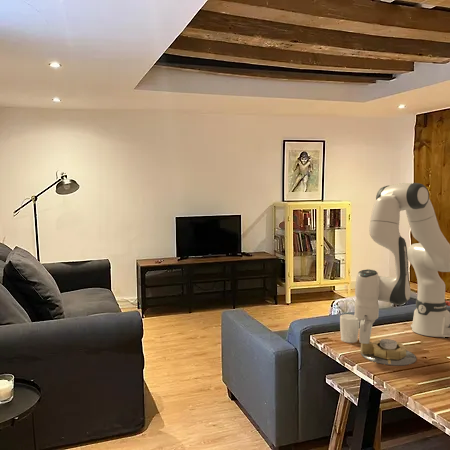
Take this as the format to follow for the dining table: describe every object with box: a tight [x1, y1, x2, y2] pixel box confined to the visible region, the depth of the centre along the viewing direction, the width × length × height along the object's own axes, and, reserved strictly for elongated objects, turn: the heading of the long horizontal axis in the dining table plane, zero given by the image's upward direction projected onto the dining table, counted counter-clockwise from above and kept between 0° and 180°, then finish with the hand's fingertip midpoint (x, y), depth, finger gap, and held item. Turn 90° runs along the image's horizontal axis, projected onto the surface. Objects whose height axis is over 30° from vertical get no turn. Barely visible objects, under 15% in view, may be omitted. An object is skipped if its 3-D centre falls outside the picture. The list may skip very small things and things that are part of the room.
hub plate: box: [360, 338, 417, 367], centre depth 176 cm, size 20×20×5 cm
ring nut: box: [360, 339, 408, 360], centre depth 176 cm, size 16×12×4 cm
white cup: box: [339, 313, 360, 344], centre depth 193 cm, size 8×8×10 cm
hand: (365, 347), depth 179 cm, fingers closed
